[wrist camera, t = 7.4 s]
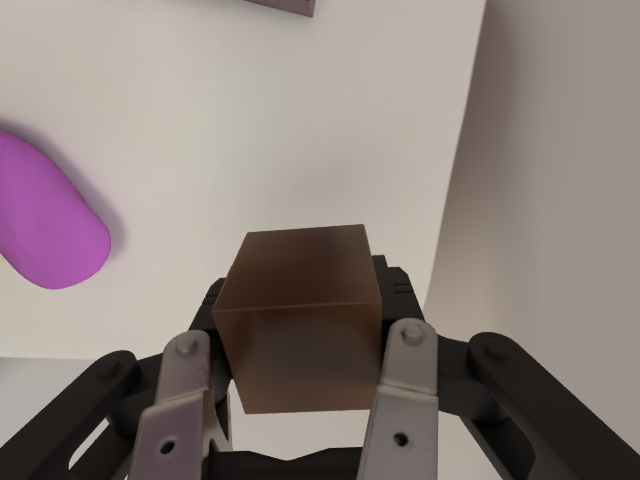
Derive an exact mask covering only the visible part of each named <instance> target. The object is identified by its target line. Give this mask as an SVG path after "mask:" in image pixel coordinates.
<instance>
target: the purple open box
mask: <svg viewBox="0 0 640 480" xmlns="http://www.w3.org/2000/svg"><path fill="white" fill-rule="evenodd" d="M244 1H248V2H252V3H256V4H260V5H264V6H268V7H272V8H276V9H281V10H285V11H289V12H293V13H297V14H301V15H305V16H309V17H313V13H314V7H315V0H244Z"/></svg>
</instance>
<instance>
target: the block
mask: <svg viewBox="0 0 640 480" xmlns="http://www.w3.org/2000/svg"><path fill="white" fill-rule="evenodd" d="M212 315H213V318H214V321H215V324H216V327H217V330H218V333H219V336H220V339H221V342H222V345H223V348H224V351H225V354H226V357H227V360H228V364H229V367H230V370H231V373H232V376H233V379H234V382H235V384H236V388H237V391H238V394H239V397H240V400H241V403H242V406H243V409H244V412H245V414H267V413H289V412H290V413H291V412H292V413H293V412H318V411H343V410H368V409H371V405H372V400H373V395H374V390H375V386H376V383H377V382H379V380H380V375H381V370H382V299H381V295H380V291H379V286H378V282H377V278H376V273H375V269H374V265H373V260H372V256H371V252H370V247H369V243H368V239H367V235H366V230H365V226H364V224H357V225H343V226H330V227H316V228H302V229H288V230H274V231H261V232H248V233H247V234H246V236H245V238H244V241H243V243H242V245H241V247H240V249H239V252H238V254H237V256H236V258H235V260H234V263H233V265H232V267H231V269H230V271H229V274H228V276H227V278H226V280H225V282H224V284H223V287H222V289H221V291H220V293H219V295H218V298H217V300H216V302H215V304H214V306H213V309H212Z"/></svg>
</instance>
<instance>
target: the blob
mask: <svg viewBox="0 0 640 480" xmlns="http://www.w3.org/2000/svg"><path fill="white" fill-rule="evenodd" d="M110 249H111V238H110V234H109V230H108V229H107V227H106V226H105V224H104V223H103V222H102V221H101V220H100V218H99V217H98V216H97V215H96V214H95V213H94V212H93V211H92V210H91V209H90V208H89V207H88V206H87V204H86V203H85V202H84V200H83V199H82V198H81V196H80V195H79V193H78V192H77V190H76V189H75V187H74V186H73V185H72V183H71V182H70V181H69V180H68V179H67V178H66V176H65V175H64V174H63V173H62V172H61V170H60V169H59V168H58V167H57V166H56V165H55V164H54V163H53V162H52V161H51V160H49V159H48V158H47V157H46V156H45V155H44V154H42V153H41V152H40V151H39V150H37V149H36V148H35V147H33V146H31V145H30V144H28V143H27V142H25V141H23V140H22V139H19V138H17V137H15V136H13V135H10V134H8V133H6V132H4V131H1V130H0V253H1V254H2V255H3V256H4V258H5V259H6V260H7V261H8V262H9V263H10V264H11V266H12V267H13V268H14V269H15V270H16V271H17V272H18V273H19V274H21V275H22V276H23V277H24V278H26V279H27V280H29V281H30V282H32V283H34V284H36V285H38V286H40V287H43V288H46V289H62V288H66V287H69V286H72V285H75V284H78V283H80V282H82V281H84V280H86V279H88V278H90V277H91V276H92V275H94V274H95V273H96V272H98V271H99V270H100V269H101V267H102V266H103V264H104V263H105V261H106V260H107V258H108V255H109V252H110Z"/></svg>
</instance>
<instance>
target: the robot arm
mask: <svg viewBox="0 0 640 480" xmlns="http://www.w3.org/2000/svg"><path fill="white" fill-rule="evenodd" d="M372 260H373V265H374V269H375V273H376V278H377V282H378V286H379V291H380V295H381V299H382V370H381V375H380V380H379V382H377V383H376V386H375V390H374V395H373V400H372V405H371V410H370V415H369V419H368V424H367V430H366V435H365V439H364V445H363V447H348V448H328V449H325V450H322V451H318V452H315V453H312V454H309V455H306V456H303V457H299V458H296V459H293V460H289V461H285V460H281V459H277V458H273V457H270V456H266V455H262V454H259V453H255V452H251V451H233V448H232V431H231V411H230V395H229V392H228V387H229V384H230V380H231V379H233V376H232V373H231V370H230V367H229V364H228V360H227V357H226V354H225V351H224V348H223V345H222V342H221V339H220V336H219V333H218V330H217V327H216V324H215V321H214V318H213V315H212V309H213V306H214V304H215V302H216V300H217V298H218V295H219V293H220V291H221V289H222V287H223V284H224V282H225V280H226V278H227V277H226V278H219V279H218V280H217V281H216V282H215V283H214V284H213V285H211V286H210V288H209V290H208V292H207V294H206V298H204V300H203V302H202V305H201V306H200V308H199V310H198V312H197V314H196V316H195V318H194V320H193V322H192V324H191V326H190V328H189V329H188V331H187V332H184V333H181V334H179V335H177V336H176V337H174V338H173V339H172V340H171V341H170V342H169V343H168V344H167V345H166V347H165V349H164V351H163V353H160V354H157V355H154V356H151V357H147V358H144V359H141V360H137V359H136V357H135V356H134V354H133V353H132V352H130V351H126V350H120V351H115V352H112V353H109V354H107V355H105V356H103V357H101V358H99V359H98V360H97V361H95V362H94V363H93V364H92V365H91V366H89V367H88V368H87V369H86V370H85V371H84V372H83V373H82V374H81V375H80V376H79V377H77V378H76V379H75V380H74V381H73V382H72V383H71V384H70V385H69V386H68V387H66V389H64V390H63V391H62V392H61V393H60V394H59V395H58V396H57V397H56V398H54V399H53V400H52V401H51V402H50V403H49V404H48V405H47V406H46V407H45V408H43V410H41V411H40V412H39V413H38V414H37V415H36V416H35V417H34V418H33V419H31V421H29V422H28V423H27V424H26V425H25V426H24V427H23V428H22V429H21V430H20V431H18V432H17V433H16V434H15V435H14V436H13V437H12V438H11V439H10V440H8V442H6V443H5V444H4V445H3V446H2V447H1V448H0V480H124V479H125V477H126V476H127V474H128V477H127V480H437V464H438V459H437V458H438V411H442V412H446V413H450V414H453V415H457V416H459V417H460V419H461V420H462V422H463V423H464V425H465V426H466V427H467V429H468V430H469V432H470V433H471V435H472V436H473V437H474V439H475V440H476V442H477V443H478V445H479V446H480V448H481V449H482V450H483V452H484V453H485V455H486V456H487V458H488V459H489V460H490V462H491V463H492V465H493V466H494V468H495V469H496V471H497V472H498V473H499V475H500V476H501V478H502V479H503V480H640V455H639V454H638V453H637V452H636V451H634V450H633V449H632V448H631V447H630V446H629V445H628V444H627V443H626V442H624V440H622V439H621V438H620V437H619V436H618V435H617V434H616V433H615V432H614V431H612V430H611V429H610V428H609V427H608V426H607V425H606V424H605V423H604V422H603V421H602V420H601V419H599V418H598V417H597V416H596V415H595V414H594V413H593V412H592V411H591V410H590V409H588V408H587V407H586V406H585V405H584V404H583V403H582V402H581V401H579V399H578V398H576V397H575V396H574V395H573V394H572V393H571V392H570V391H569V390H568V389H567V388H565V387H564V386H563V385H562V384H561V383H560V382H559V381H558V380H557V379H555V378H554V377H553V376H552V375H551V374H550V373H549V372H548V371H547V370H546V369H545V368H544V367H542V366H541V365H540V364H539V363H538V362H537V361H536V360H535V359H534V358H533V357H532V356H530V355H529V354H528V353H527V352H526V351H525V350H524V349H523V348H522V347H521V346H519V345H518V344H517V343H516V342H514V341H513V340H512V339H510V338H508V337H506V336H504V335H501V334H498V333H493V332H482V333H478V334H476V335H474V336H473V337H472V338H471V339H470V341H469V343H468V342H463V341H457V340H453V339H448V338H446V337H443V336H441V335H439V334H437V333H436V331H435V329H434V328H433V327H432V326H431V325H430V324H428V323H427V322H426V321H425V320H424V316H423V314H422V311H421V309H420V306H419V303H418V301H417V298H416V295H415V293H414V290H413V287H412V285H411V282H410V280H409V277H408V274H407V273H406V272H404V271H403V270H402V269H401V268H400V267H388V266H387V263H386V259H385V256H384V255H373V256H372ZM231 267H232V266H231ZM230 269H231V268H230ZM229 271H230V270H229ZM228 274H229V272H228ZM227 276H228V275H227ZM104 418H106V419H107V421H108V422H109V425H108V426H107V428H106V429H105V430H104V431H103V432H102V433H101V435H100V436H99V437H98V438H97V439H96V440H95V441H94V442H93V444H92V445H91V446H90V447H89V448H88V449H87V450H86V452H85V453H84V454H83V455H82V456H81V457H80V458H79V460H78V461H77V462H76V463H75V464H74V465H73V466H72V467H71V469H70V470H69V462H70V459H71V457H72V455H73V454H74V452H75V451H76V450H77V448H78V447H79V446H80V445H81V444H82V443H83V442H84V441H85V440H86V438H87V437H88V436H89V435H90V434H91V433H92V432H93V431H94V430H95V428H96V427H97V426H98V425H99V424H100V423H101V422H102V421H103V420H104Z"/></svg>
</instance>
